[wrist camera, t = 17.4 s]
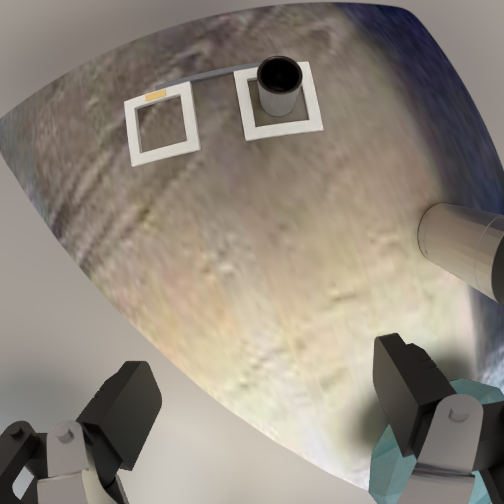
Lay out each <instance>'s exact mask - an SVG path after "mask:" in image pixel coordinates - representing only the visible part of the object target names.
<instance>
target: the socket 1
mask: <svg viewBox="0 0 504 504" xmlns="http://www.w3.org/2000/svg"><path fill="white" fill-rule="evenodd" d="M179 96H181V102H182V109H183V116H184V123H185V130H186V136H187V141H185V142H181V143H177V144H173V145H169V146H166V147H162V148H158V149H155V150H151V151H147V152H144V153H143V152H142V145H141V137H140V129H139V121H138V112H137V109H139V108H142V107H145V106H148V105H152V104H155V103H158V102H161V101H165V100H168V99H171V98H175V97H179ZM124 104H125V115H126V124H127V133H128V141H129V149H130V156H131V163H132V167H137V166H140V165H144V164H148V163H151V162H155V161H159V160H163V159H166V158H170V157H174V156H179V155H183V154H187V153H191V152H196V151H200V150H202V149H201V143H200V136H199V130H198V124H197V117H196V110H195V104H194V97H193V90H192V83H191V82H190V81H189V82H185V83H181V84H178V85H174V86H171V87H167V88H164V89H161V90H157V91H154V92H151V93H148V94H145V95H142V96H139V97H136V98H134V99H131V100H128V101H125V102H124Z"/></svg>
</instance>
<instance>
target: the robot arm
mask: <svg viewBox="0 0 504 504" xmlns="http://www.w3.org/2000/svg"><path fill="white" fill-rule="evenodd" d="M418 241H419V246H420V249H421V251H422V253H423V255H424V256H425V257H426V258H427V259H428V260H430V261H431V262H433V263H434V264H436V265H438V266H440V267H441V268H443V269H445V270H446V271H448V272H450V273H451V274H453V275H455V276H456V277H458V278H460V279H461V280H463V281H465V282H466V283H468V284H469V285H471V286H473V287H474V288H476V289H477V290H479V291H481V292H482V293H484V294H485V295H487V296H489V297H490V298H492V299H493V300H495V301H496V302H498V303H499V304H501V305H502V306H503V307H504V215H500V214H496V213H491V212H487V211H482V210H477V209H473V208H468V207H463V206H458V205H452V204H447V203H439V204H436V205H434V206H432V207H431V208H430V209H429V210H428V211H427V212H426V213H425V214H424V216H423V218H422V220H421V223H420V226H419V230H418ZM373 383H374V387H375V390H376V393H377V395H378V397H379V400H380V402H381V404H382V407H383V409H384V412H385V414H386V416H387V419H388V421H389V424H390V426H391V429H392V431H393V434H394V436H395V439H396V441H397V444H398V446H399V449H400V452H401V454H402V457H403V458H405V457H408V456H411V455H415V458H416V460H417V462H416V464H415V467H414V469H413V471H412V473H411V475H410V478H409V480H408V482H407V484H406V486H405V488H404V490H403V492H402V494H401V496H400V498H399V500H398V501H397V503H396V504H468V503H469V500H470V497H471V494H472V491H473V487H474V483H475V475H474V474H472V472H473V471H478V470H479V473H480V475H481V477H482V480H483V482H484V484H485V487H486V489H487V492H488V494H489V497H490V499H491V502H492V504H504V401H499V402H494V403H488V404H481V403H480V402H479V401H478V400H477V399H476V398H474V397H472V396H470V395H466V394H457V392H456V391H455V390H454V388H453V387H452V386H451V384H450V383H449V382H448V380H447V379H446V377H445V376H444V375H443V374H442V372H441V371H440V370H439V368H437V367H436V364H435V363H434V362H433V360H431V358H430V357H429V355H428V354H427V353H426V352H425V350H424V349H422V348H420V347H419V346H417V345H415V344H413V343H411V344H407V345H406V344H405V342H404V341H403V340H402V338H401V337H400V336H399V334H398V333H392V334H388V335H383V336H379V337H376V338H375V341H374V359H373ZM161 405H162V397H161V393H160V390H159V388H158V385H157V383H156V381H155V378H154V376H153V373H152V371H151V369H150V366H149V364H148V363H147V362H146V361H126V362H125V363H124V364H123V366H122V367H121V368H120V369H119V371H118V372H117V373H116V374H114V375H113V376H111V377H110V378H109V379H107V380H106V381H105V382H104V384H103V385H102V386H101V388H100V391H97V393H96V394H95V396H94V398H92V399H91V401H90V402H89V403H88V405H87V406H86V407H85V409H84V410H83V411H82V413H81V414H80V415H79V417H78V418H77V419H76V421H71V420H70V421H69V420H68V421H63V422H60V423H58V424H56V425H55V426H53V427H52V428H51V429H50V431H49V432H48V433H36V432H35V431H34V429H33V428H32V427H31V425H30V424H29V423H28V422H26V421H17V422H14V423H13V424H11V425H10V426H8V427H7V428H6V430H5V431H4V432H3V433H2V434H1V436H0V504H129V502H128V499H127V497H126V494H125V491H124V489H123V486H122V483H121V480H120V478H119V476H118V475H117V474H116V473H117V471H118V469H119V468H120V469H124V470H129V471H132V469H133V467H134V465H135V463H136V461H137V458H138V456H139V454H140V452H141V450H142V447H143V445H144V443H145V441H146V439H147V436H148V435H149V432H150V430H151V428H152V426H153V423H154V422H155V419H156V417H157V415H158V413H159V411H160V408H161ZM24 466H25V467H26V468H27V469H28V470H29V472H31V474H32V475H33V476H34V478H33V480H32V482H31V483H30V485H29V487H28V488H27V490H26V492H25V493H24V495H23V497H22V498H21V500H20V499H19V498H17V497H16V496H15V494H14V492H13V489H12V485H13V482H14V481H15V479H16V478H17V476H18V475H19V473H20V471H21V470H22V468H23V467H24Z"/></svg>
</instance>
